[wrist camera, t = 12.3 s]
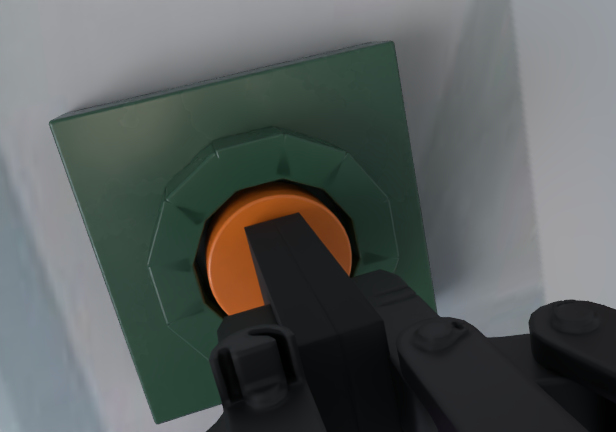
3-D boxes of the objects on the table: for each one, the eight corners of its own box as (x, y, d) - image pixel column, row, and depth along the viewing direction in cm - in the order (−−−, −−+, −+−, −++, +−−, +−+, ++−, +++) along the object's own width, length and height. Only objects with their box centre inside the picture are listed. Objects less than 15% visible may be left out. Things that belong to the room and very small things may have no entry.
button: (347, 286, 18) (364, 310, 16) (223, 323, 18) (228, 351, 16) (321, 165, 17) (337, 177, 15) (188, 201, 16) (189, 217, 15)
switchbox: (416, 309, 22) (466, 361, 18) (157, 388, 20) (153, 464, 17) (370, 41, 19) (419, 37, 15) (62, 113, 17) (30, 129, 14)
